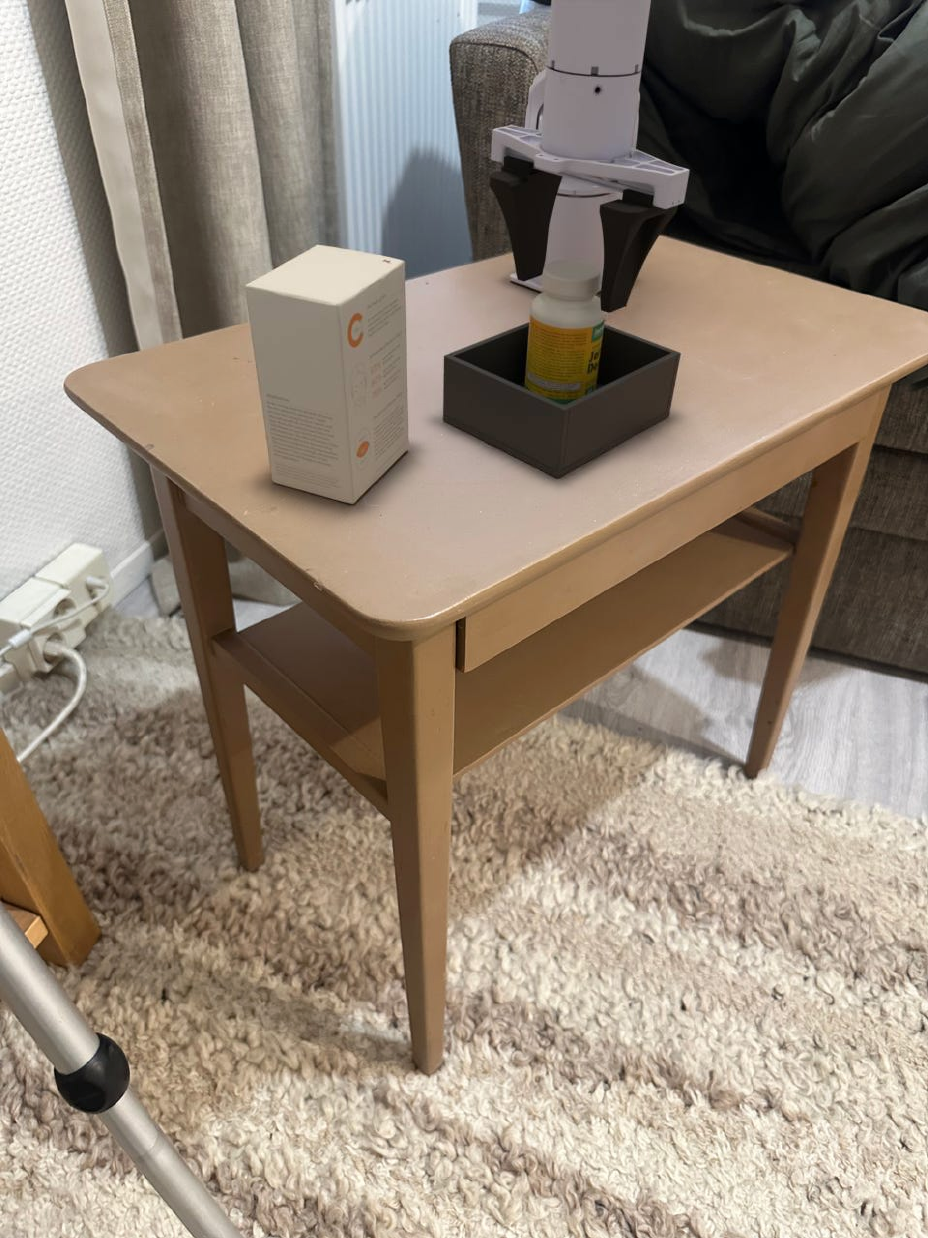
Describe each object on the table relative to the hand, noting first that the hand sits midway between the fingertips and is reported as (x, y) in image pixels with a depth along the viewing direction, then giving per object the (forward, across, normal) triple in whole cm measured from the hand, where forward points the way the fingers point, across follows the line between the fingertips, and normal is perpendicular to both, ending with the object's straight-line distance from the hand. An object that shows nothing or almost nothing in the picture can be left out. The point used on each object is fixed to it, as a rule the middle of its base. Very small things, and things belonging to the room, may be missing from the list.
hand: (570, 292), depth 63 cm
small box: (+9, -4, -18) cm, 20 cm away
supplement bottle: (+8, 0, 0) cm, 8 cm away
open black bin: (+8, +2, -2) cm, 9 cm away
